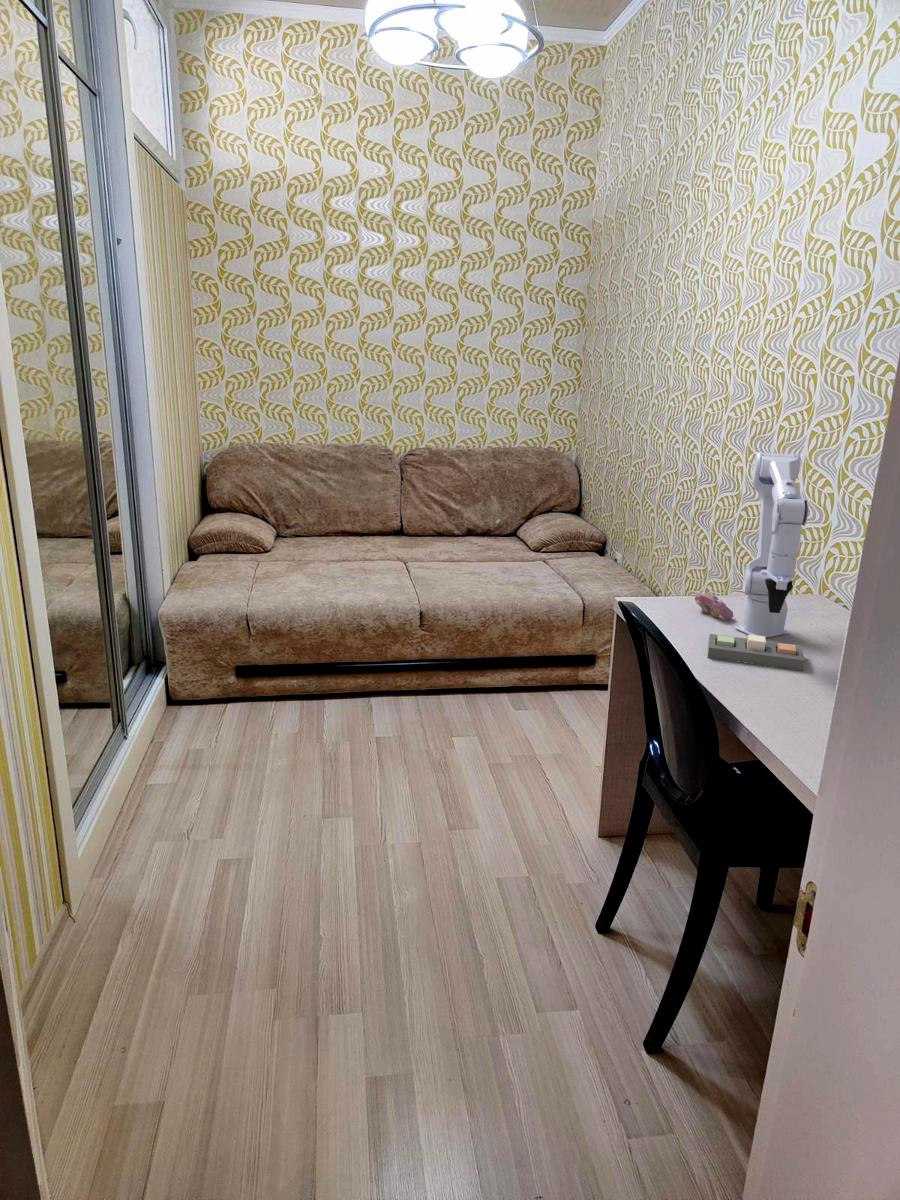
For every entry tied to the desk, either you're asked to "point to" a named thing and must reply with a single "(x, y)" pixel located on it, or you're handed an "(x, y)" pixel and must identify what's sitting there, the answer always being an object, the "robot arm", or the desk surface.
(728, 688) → the desk surface
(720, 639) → the sage button
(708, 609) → the pinkish-red lumpy piece
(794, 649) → the terracotta button
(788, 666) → the button panel
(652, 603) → the desk surface
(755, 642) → the cream button
